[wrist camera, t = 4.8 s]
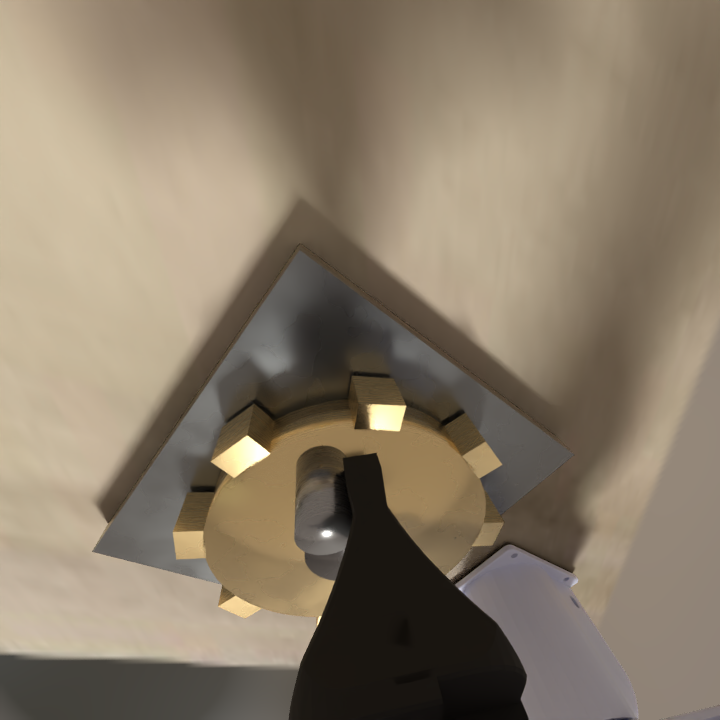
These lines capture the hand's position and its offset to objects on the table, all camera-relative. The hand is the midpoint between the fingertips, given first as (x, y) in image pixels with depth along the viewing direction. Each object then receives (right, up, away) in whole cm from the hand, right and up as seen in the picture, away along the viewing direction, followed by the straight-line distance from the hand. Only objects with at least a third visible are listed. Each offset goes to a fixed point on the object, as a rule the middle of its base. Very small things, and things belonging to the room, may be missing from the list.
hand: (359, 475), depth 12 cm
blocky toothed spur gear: (-1, -3, +5) cm, 6 cm away
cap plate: (-1, -2, +6) cm, 7 cm away
